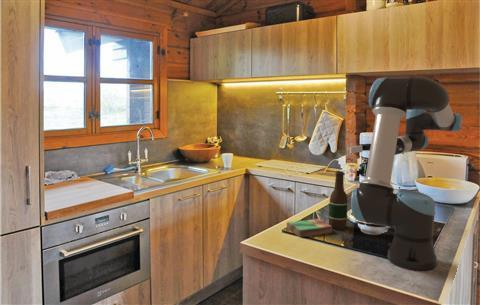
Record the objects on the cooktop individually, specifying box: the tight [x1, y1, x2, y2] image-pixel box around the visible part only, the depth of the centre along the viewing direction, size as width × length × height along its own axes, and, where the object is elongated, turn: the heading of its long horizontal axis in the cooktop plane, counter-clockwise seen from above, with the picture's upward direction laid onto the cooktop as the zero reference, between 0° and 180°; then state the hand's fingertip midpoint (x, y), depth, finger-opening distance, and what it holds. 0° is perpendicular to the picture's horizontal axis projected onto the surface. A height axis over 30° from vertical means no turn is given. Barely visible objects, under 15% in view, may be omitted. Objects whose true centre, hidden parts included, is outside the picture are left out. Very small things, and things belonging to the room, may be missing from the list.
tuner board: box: [286, 218, 333, 238], centre depth 162 cm, size 11×15×3 cm
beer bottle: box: [328, 170, 348, 231], centre depth 165 cm, size 8×8×24 cm
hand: (361, 152), depth 165 cm, fingers open, 13 cm apart
